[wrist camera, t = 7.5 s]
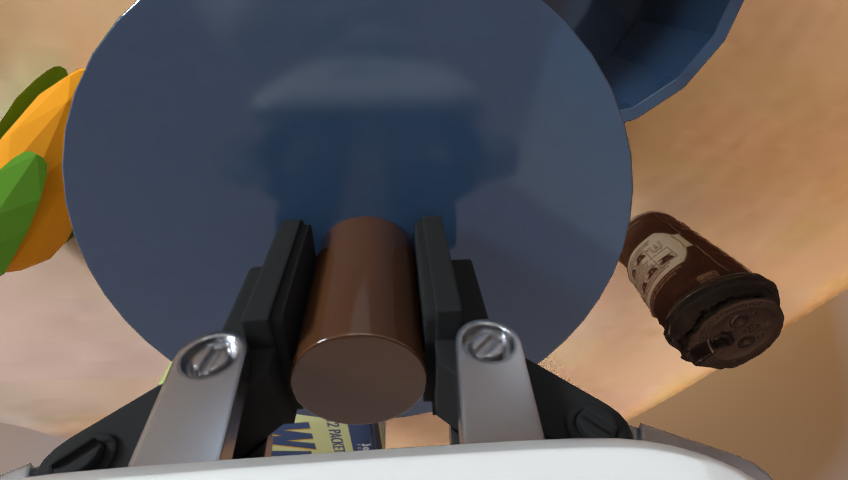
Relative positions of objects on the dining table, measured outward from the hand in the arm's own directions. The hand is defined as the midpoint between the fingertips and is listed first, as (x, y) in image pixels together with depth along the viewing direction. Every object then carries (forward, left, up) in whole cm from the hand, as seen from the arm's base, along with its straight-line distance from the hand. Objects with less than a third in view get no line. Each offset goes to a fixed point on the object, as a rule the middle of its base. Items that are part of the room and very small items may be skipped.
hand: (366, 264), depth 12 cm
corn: (+5, -24, -23) cm, 34 cm away
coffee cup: (+14, +25, -23) cm, 37 cm away
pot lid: (0, 0, -1) cm, 1 cm away
